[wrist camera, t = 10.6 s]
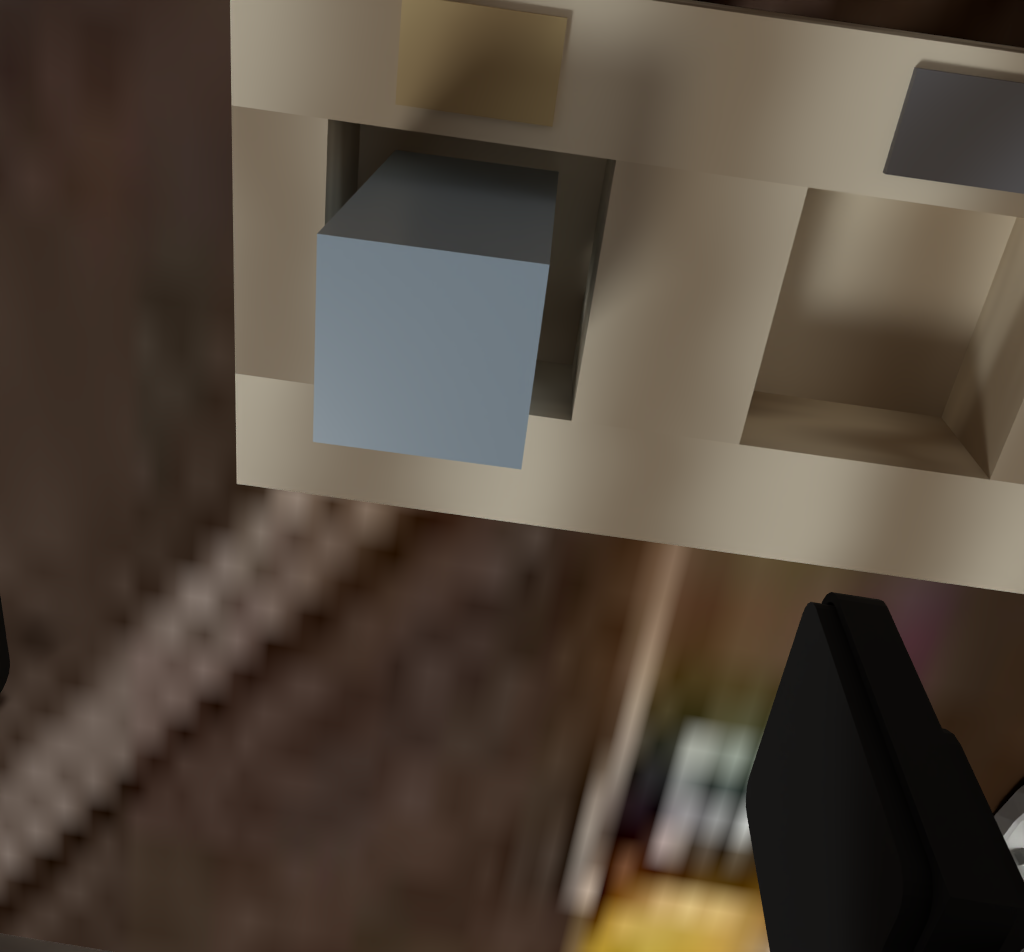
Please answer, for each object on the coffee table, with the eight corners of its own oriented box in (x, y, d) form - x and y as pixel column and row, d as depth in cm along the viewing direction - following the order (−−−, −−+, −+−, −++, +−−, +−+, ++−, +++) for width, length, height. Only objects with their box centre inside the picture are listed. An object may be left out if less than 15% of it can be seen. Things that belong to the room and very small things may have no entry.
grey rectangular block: (558, 171, 23) (549, 264, 16) (537, 326, 25) (520, 469, 18) (395, 149, 23) (316, 233, 16) (386, 306, 25) (312, 441, 18)
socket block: (1153, 66, 22) (1269, 89, 18) (968, 513, 28) (1028, 598, 24) (285, -59, 22) (225, -61, 18) (280, 416, 28) (234, 487, 24)
